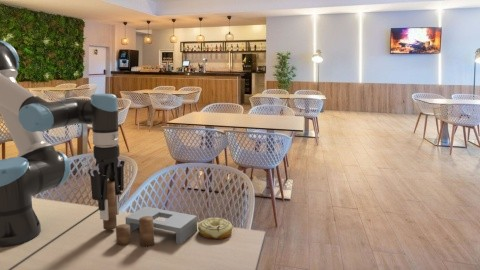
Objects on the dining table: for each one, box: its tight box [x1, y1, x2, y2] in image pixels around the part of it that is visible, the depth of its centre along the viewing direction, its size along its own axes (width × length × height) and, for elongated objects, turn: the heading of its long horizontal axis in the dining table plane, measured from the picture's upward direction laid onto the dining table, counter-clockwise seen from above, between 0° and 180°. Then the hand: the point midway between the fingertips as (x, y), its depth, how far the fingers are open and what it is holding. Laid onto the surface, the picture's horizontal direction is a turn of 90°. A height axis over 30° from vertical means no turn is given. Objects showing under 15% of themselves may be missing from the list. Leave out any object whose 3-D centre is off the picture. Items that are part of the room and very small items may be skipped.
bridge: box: [124, 206, 198, 245], centre depth 119 cm, size 20×10×5 cm, turn 67°
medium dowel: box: [138, 216, 155, 248], centre depth 110 cm, size 4×4×8 cm
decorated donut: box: [197, 217, 234, 240], centre depth 119 cm, size 10×11×4 cm
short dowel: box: [115, 223, 132, 247], centre depth 111 cm, size 4×4×5 cm
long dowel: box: [102, 179, 118, 231], centre depth 118 cm, size 4×4×15 cm
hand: (109, 216), depth 119 cm, fingers closed on long dowel, 4 cm apart
